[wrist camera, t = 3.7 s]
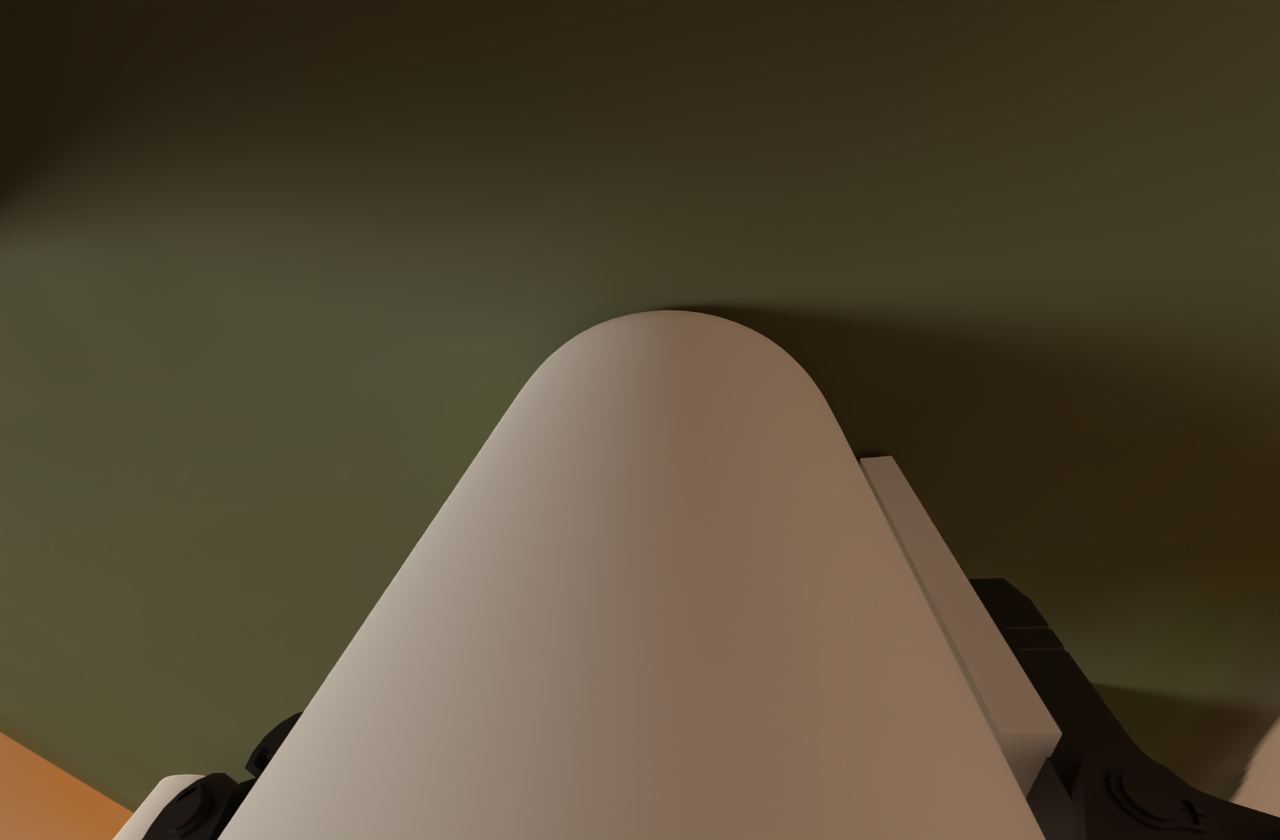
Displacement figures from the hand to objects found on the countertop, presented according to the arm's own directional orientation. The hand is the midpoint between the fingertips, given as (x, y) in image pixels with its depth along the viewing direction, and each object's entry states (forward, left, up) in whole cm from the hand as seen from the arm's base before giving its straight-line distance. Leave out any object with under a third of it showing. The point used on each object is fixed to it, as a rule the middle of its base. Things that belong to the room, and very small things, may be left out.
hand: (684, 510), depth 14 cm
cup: (0, 0, 0) cm, 0 cm away
